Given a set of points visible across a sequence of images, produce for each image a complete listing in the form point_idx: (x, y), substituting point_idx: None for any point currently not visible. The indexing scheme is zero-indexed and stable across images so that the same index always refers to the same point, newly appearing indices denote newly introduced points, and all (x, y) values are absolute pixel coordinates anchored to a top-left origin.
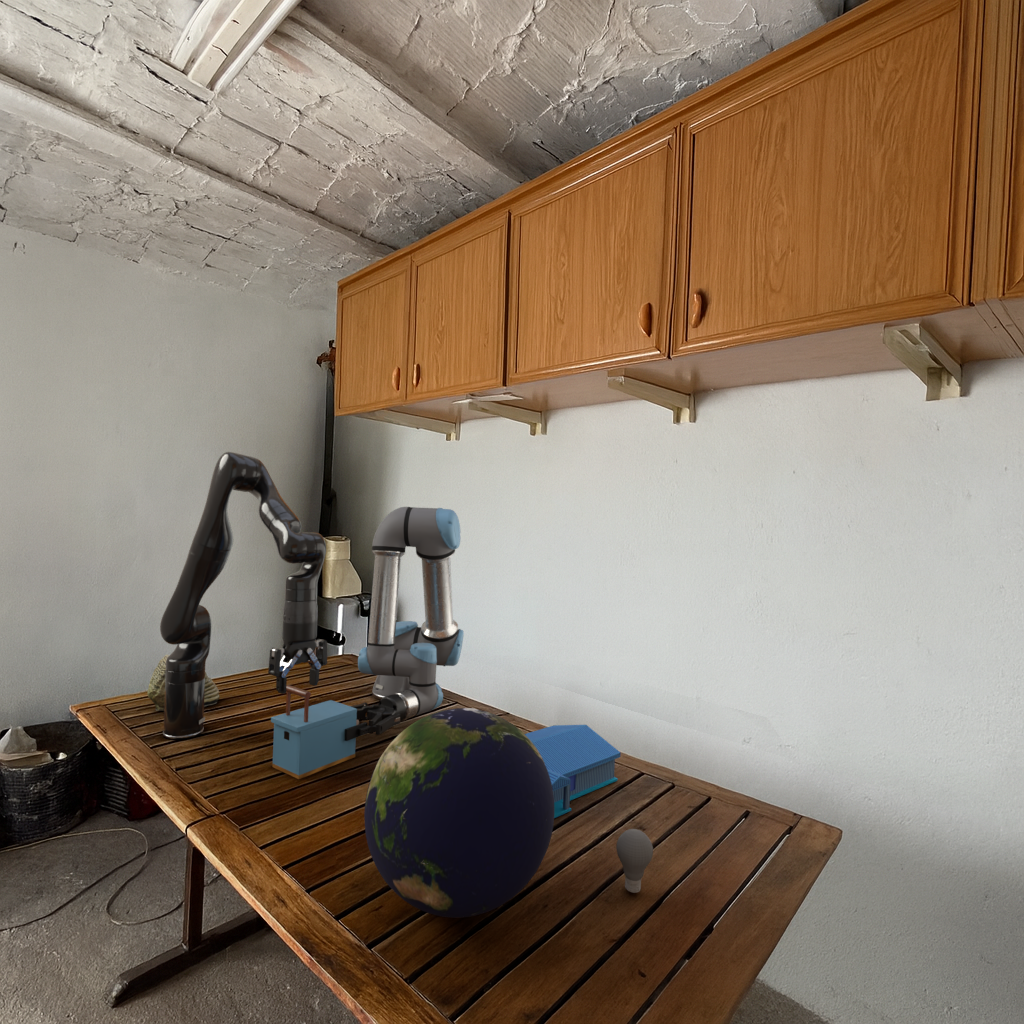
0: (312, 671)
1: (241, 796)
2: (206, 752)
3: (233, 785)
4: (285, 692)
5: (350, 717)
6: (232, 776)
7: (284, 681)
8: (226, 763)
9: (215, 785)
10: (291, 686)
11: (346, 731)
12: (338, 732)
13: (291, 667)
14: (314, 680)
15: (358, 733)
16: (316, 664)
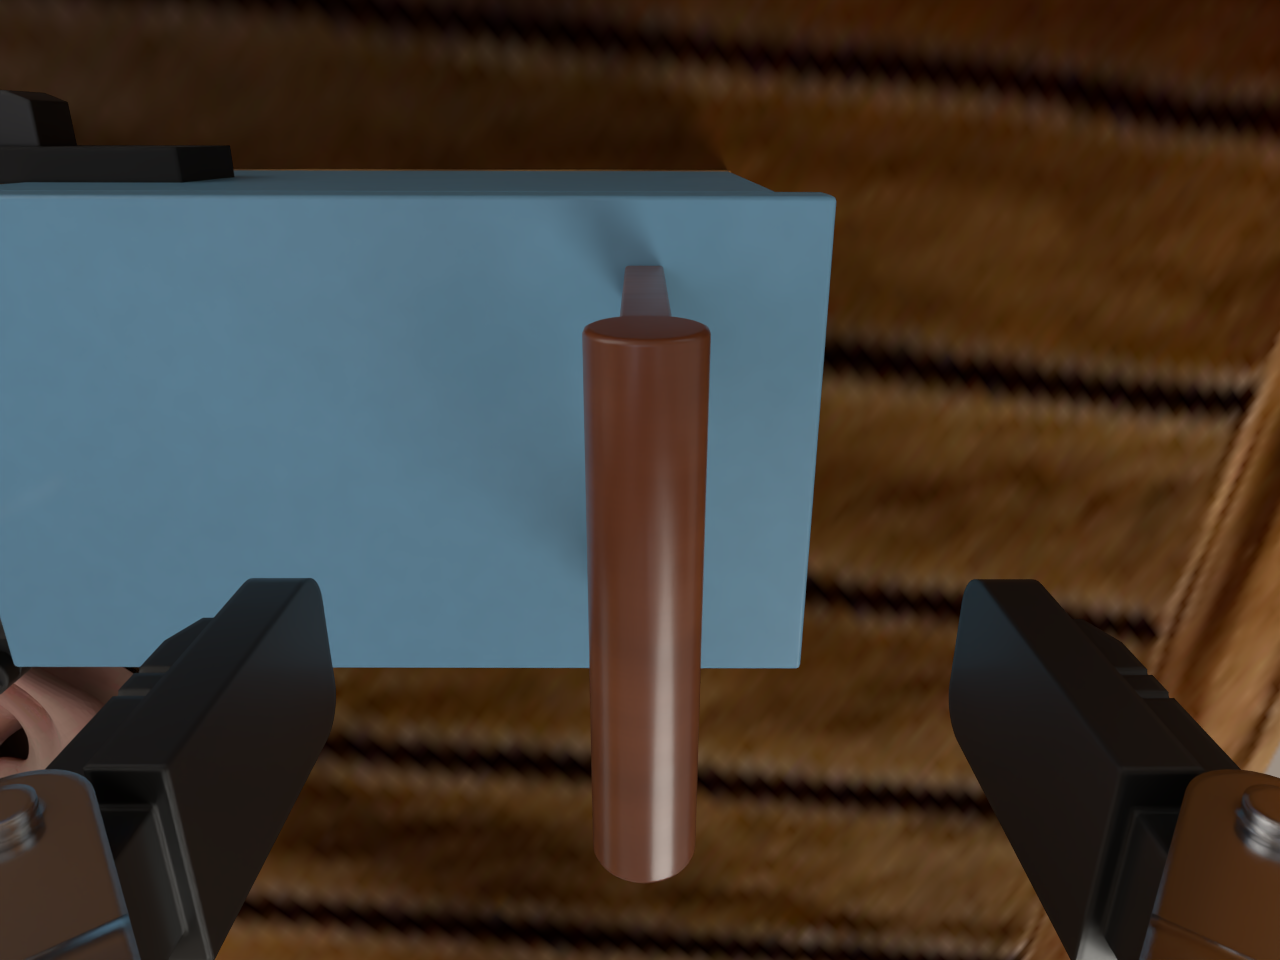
0: (213, 835)
1: (1126, 246)
2: (827, 896)
3: (1040, 424)
4: (986, 580)
5: (42, 188)
6: (956, 537)
7: (1133, 709)
8: (855, 710)
9: (1097, 503)
10: (651, 793)
11: (186, 156)
12: (275, 182)
13: (1194, 946)
14: (279, 643)
15: (65, 132)
16: (39, 899)
